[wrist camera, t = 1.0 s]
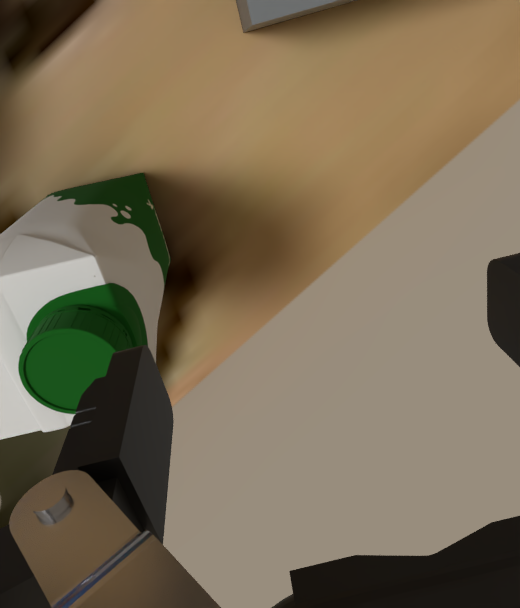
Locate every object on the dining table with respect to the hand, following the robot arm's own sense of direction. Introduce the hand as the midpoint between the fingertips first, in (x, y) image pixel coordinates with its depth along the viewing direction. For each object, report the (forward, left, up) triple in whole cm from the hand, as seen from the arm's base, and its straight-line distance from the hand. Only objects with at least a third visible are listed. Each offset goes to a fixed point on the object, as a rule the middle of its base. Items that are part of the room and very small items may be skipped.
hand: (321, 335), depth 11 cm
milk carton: (+3, -11, -27) cm, 29 cm away
